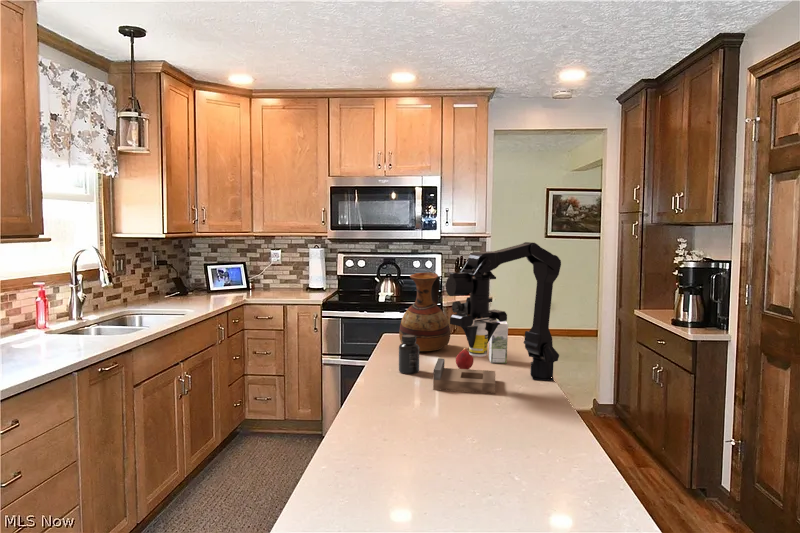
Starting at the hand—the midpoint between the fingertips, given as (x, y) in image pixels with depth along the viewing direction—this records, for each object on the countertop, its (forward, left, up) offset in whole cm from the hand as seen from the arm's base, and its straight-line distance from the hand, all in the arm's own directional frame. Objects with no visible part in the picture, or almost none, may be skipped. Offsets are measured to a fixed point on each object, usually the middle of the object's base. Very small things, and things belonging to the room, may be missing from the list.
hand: (478, 346), depth 167 cm
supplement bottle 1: (+23, -13, -13) cm, 29 cm away
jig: (+4, -2, -12) cm, 13 cm away
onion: (+5, -17, -13) cm, 21 cm away
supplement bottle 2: (0, 0, -3) cm, 3 cm away
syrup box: (-6, -33, -13) cm, 36 cm away
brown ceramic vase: (+22, -47, -13) cm, 53 cm away
